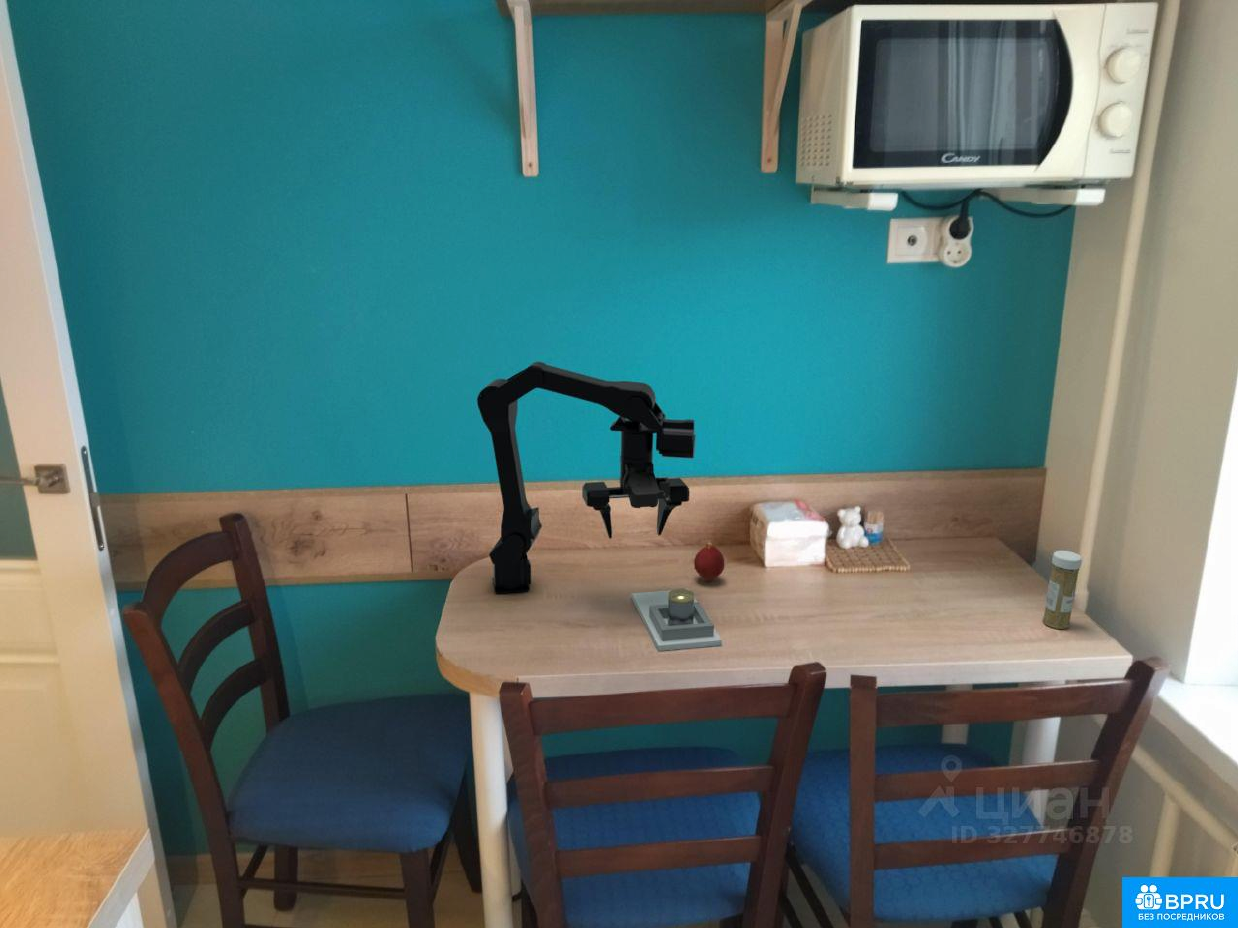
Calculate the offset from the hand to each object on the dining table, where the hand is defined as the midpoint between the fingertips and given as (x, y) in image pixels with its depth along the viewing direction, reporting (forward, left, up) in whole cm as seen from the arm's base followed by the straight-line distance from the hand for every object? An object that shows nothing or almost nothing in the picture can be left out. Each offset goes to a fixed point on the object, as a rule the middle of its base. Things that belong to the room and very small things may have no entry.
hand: (634, 536), depth 169 cm
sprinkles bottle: (+72, -24, -12) cm, 77 cm away
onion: (+16, +4, -12) cm, 21 cm away
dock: (+5, -11, -12) cm, 17 cm away
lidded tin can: (+5, -15, -11) cm, 19 cm away
